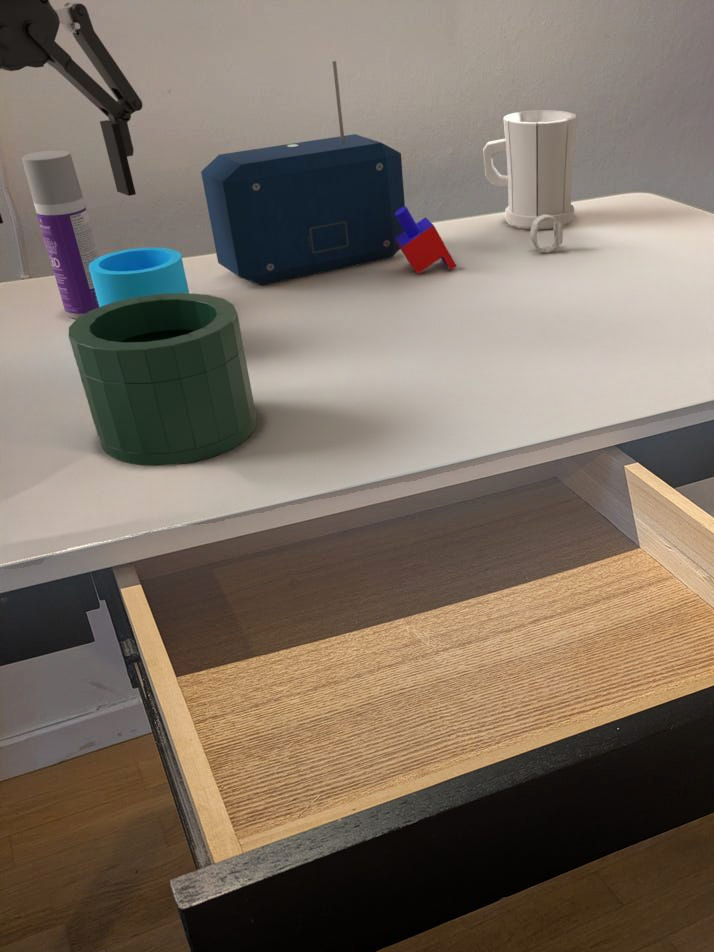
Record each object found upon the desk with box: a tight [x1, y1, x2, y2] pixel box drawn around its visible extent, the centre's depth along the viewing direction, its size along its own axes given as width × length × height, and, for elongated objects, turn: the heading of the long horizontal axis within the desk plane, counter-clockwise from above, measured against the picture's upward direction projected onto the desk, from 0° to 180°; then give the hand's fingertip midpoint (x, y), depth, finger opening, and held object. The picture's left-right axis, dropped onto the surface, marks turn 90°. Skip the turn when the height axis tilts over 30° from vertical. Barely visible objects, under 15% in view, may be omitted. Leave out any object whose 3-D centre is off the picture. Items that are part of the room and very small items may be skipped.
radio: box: [200, 60, 406, 286], centre depth 107 cm, size 21×9×20 cm, turn 123°
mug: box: [89, 247, 190, 307], centre depth 92 cm, size 12×8×8 cm
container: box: [21, 149, 100, 320], centre depth 98 cm, size 5×5×15 cm
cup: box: [482, 109, 577, 231], centre depth 121 cm, size 10×9×12 cm
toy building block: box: [395, 206, 457, 275], centre depth 109 cm, size 4×4×8 cm
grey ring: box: [529, 215, 564, 254], centre depth 113 cm, size 4×2×4 cm, turn 103°
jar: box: [68, 292, 258, 467], centre depth 76 cm, size 12×12×9 cm
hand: (62, 207), depth 97 cm, fingers open, 13 cm apart
